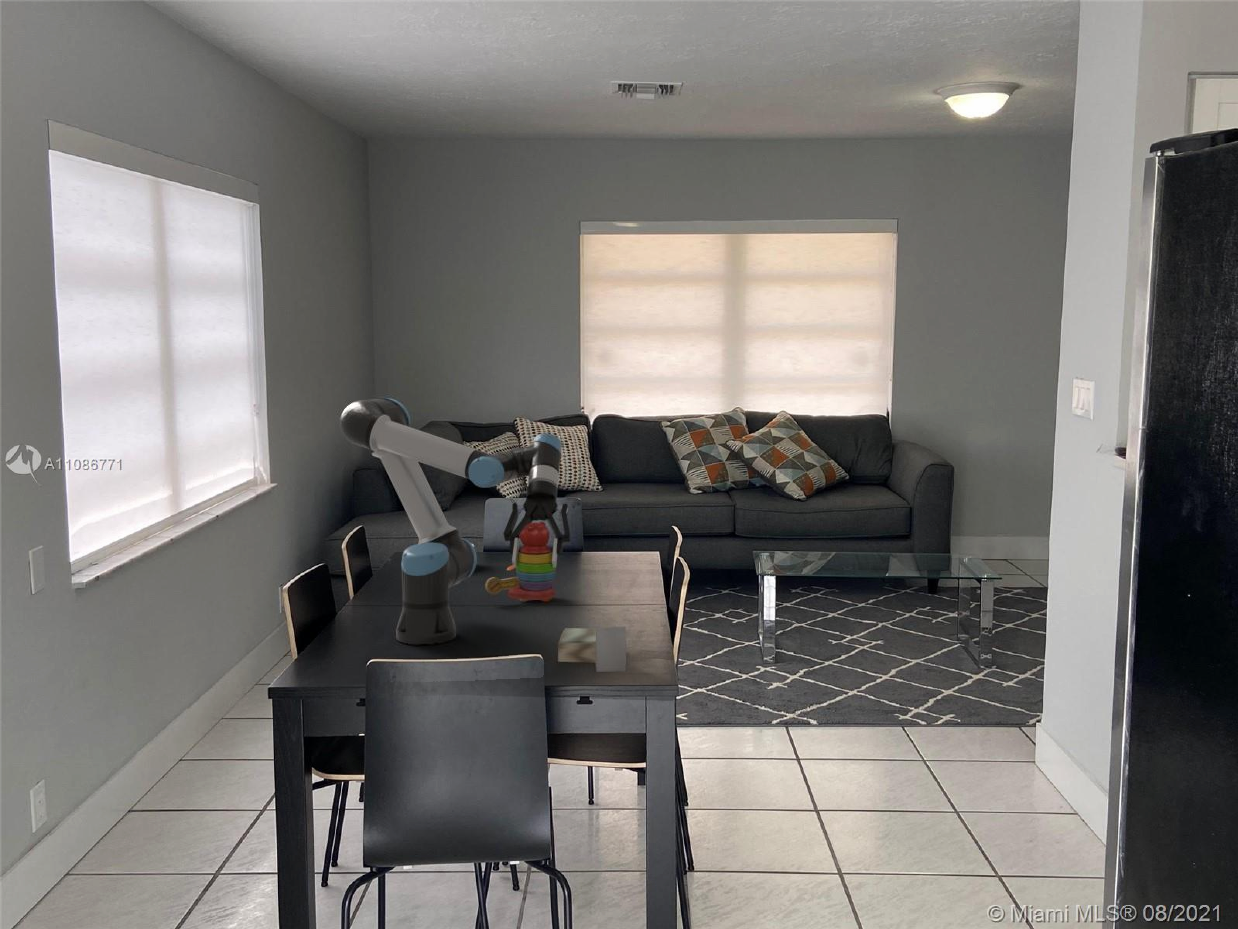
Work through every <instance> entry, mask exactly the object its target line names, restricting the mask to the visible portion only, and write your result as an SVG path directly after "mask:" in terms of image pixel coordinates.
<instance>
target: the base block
mask: <svg viewBox="0 0 1238 929" xmlns="http://www.w3.org/2000/svg"><path fill="white" fill-rule="evenodd" d="M557 662H558V663H595V664H596V628H579V627H578V628H571V627H565V628H564V629H563V631H562V633H561V634H560V638H559V640H558V643H557Z"/></svg>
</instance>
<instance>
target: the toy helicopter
mask: <svg viewBox="0 0 1238 929" xmlns="http://www.w3.org/2000/svg"><path fill="white" fill-rule="evenodd" d="M514 569H515V570H516V567H513V564H512V565H510V566H508V567H507V569H506V571H507V572H508V571H512V570H514ZM518 586H519V583H518V578H517V575H516V576H514V577H508V578H502V579H500V578H498V577H494V576H492V577H489V578H487V580H486V581H485V585H484V588H485V590H486V592H488V593H489V594H491V595H497V594H499V593H501V591H505V590H507V591H509V590H511V589H513V588H515V587H518ZM552 599H553V597H551V598H548V599H541V600H540V601H541V602H544V603H547V602H549V601H551V600H552ZM518 600H519V601H520V602H523V603H526V602H528V600H526V599H518Z"/></svg>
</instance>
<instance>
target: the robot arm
mask: <svg viewBox="0 0 1238 929" xmlns="http://www.w3.org/2000/svg"><path fill="white" fill-rule="evenodd" d="M410 416H411V415H410V413H409V411H408V410H407V408H406V407H405V405H404V404H403V403H401V402H400V401H399V400H396V399H394V398H388V397H376V398H373V399H372V398H371V399H361V400H356V401H354V402H351V403H349V405H347V406H346V407H345V408H344V410H343V411H342V413H341V416H340V418H339V427H340V430H341V433H342V435H343V436H344V438H345V439H346V440H347V441H349V442H350V443H351V444H353V445H355V446H359V447H362V448H365V449H368V450H369V451H370V454H371V455H372V456H373V457H375V458H379V460H380V461H381V463H382V465H383V467H384V469H385V471H386V473H387V475H388V476H389V479H390V481H391V483H392V485H393V488H394V489H395V492H396V494H397V496H398V498H399V501H400V502H401V504H402V506H403V508H404V510H405V512H406V514H407V516H408V519H409V520H410V522H411V525H412V528H413V529H414V531H415V533H416V535H417V537H418V543H417V544H414V545H413V544H412V545H410V546H409V547H407V548H406V549H404V551H403V553H402V556H401V557H402V558H401V563H400V565H401V568H400V569H401V581H402V582H401V585H402V586H401V587H402V588H401V589H402V590H401V591H402V593H401V594H402V610H401V612H400V615H399V620H398V622H397V626H396V629H395V638H396V640H397V641H398V642H400V643H403V644H407V643H408V644H407V645H415V646H418V645H419V646H421V645H422V644H429V645H436V644H435V643H438V644H442V643H443V644H444V643H446V641H447V642H450V641H452V640H454V639H455V638H456V637H457V626H456V624H455V620H454V617H453V614H452V611H451V609H450V596H449V595H450V594H449V593H450V588H452V587H454V586H456V585H459V584H462V583H463V582H465V581H467V579H468V578H470V577H471V575H473V573H474V571H475V570H476V567H477V562H478V556H477V555H478V554H477V551H476V550H475V546H474V547H473V545H474V544H473V543H471V542H470V541H468V539H465V538H464V537H462V536H461V534H460V533H459V530H458V529H457V527H454V526H452V525H450V524H449V522H448V521H447V519H446V517H445V515H444V512H443V511H442V508H441V506H440V504H439V502H438V500H437V498H436V496H435V494H434V492H433V489H432V488H431V486H430V484H429V482H428V480H427V477H426V475H425V474H424V471H423V469H422V467H421V465H420V464H419V463H422V464H425V465H427V466H430V467H433V468H436V469H439V470H441V471H444V472H447V473H450V474H454V475H457V476H460V477H462V478H465V479H468V480H470V481H471V482H472V483H473V484H474V485H475V486H476V487H478V488H483V489H484V488H493V487H495V486H497V485H500V484H502V483H506V482H511V481H513V480H517V479H521V478H525V477H526V478H527V477H528V480H527V489H526V496H525V497H526V498H525V501H524V502H523V504H518V503H517V502H514V503H512V506H511V507H512V508H511V509H512V510H511V514H510V516H509V518H508V521H507V523H506V526H505V529H504V531H503V537H504V541H505V542H509V546H508V548H509V553H510V554H512V558H511V562H512V565H513V567H517V561H518V556H519V551H520V541H519V540H520V537H519V534H520V532H521V531H522V530H523V529H524V527H525V526H526V525H528V524H530V523H533V522H534V521H536V522H537V521H541V522H544V521H545V522H547V524H548V525H549V527H550V528H551V531H552V533H553V534H554V538H553V547H552V553H553V555H552V565H553V567H555V568H557V563H558V562H557V561H558V555H562V554H563V546H564V545H563V544H565V543H570V542H571V541H572V540H571V539H572V538H571V531H570V527H569V520H568V514H569V506H568V504H567V503H563V504H562V505H561V504H558V503H557V499H558V488H559V477H560V466H561V460H562V442H561V439H560V438H559V437H557V436H556V435H554V434H552V433H547V432H545V433H539V434H538V435H536V436H535V437H534V438H533V441H532V444H531V445H528V446H523V447H520V448H514V449H509V450H504V451H499V452H495V453H492V454H491V453H488V452H484V451H481V450H478V449H475V448H472V447H470V446H466V445H464V444H461V443H457V442H455V441H452V440H448V439H446V438H443V437H439V436H437V435H434V434H431V433H428V432H425V431H422V430H420V429H416V428H413V427H410V425H411V417H410ZM522 511H525V513H524V516H523V517H522V518H521V520H520V522H518V525H517V526H516V524H517V521H518V519H519V516H520V515H521V513H522ZM557 511H558V514H559V515H560V516H561V520H562V525H563V531H564V534H563V533H561V530H560V528H559V527H558V524H557V522H556V520H555V519H554V514H555V513H556V512H557ZM472 544H473V545H472ZM449 640H450V641H449ZM420 644H421V645H420ZM422 646H423V645H422Z"/></svg>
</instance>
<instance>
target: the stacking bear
mask: <svg viewBox="0 0 1238 929" xmlns="http://www.w3.org/2000/svg"><path fill="white" fill-rule="evenodd" d="M549 530H550V529H549V528H548V527H547V526H546V523H545V522H544V521H539V522H532V523H530V524H528V525H526V526H525V527H524V529H523V530H522V531H521V532H520V534H519V537H520V538H519V540H520V542H521V543H522V545H523V546H521V548H519V551H520V552H518V559H517V567H516V568H515V570H516V576H517V578H518V583H519V586H518V587H515V588H513V589H509V590H508V591H507V592H508V593H507V596H508V597H509V598H511V599H517V600H519V599H526V600H527V601H531V600H532V601H533V600H534V601H536V600H537V601H538V600H539V601H541V599H548V598H551V597H552V598H553V597H555V594H556V592H555V589H554V586H553V584H554V581H555V577H556V568H557V567H556V568H555V567H553V565H552V555H553V550H552V549H551V548H550V547H549V546H548V543H549V540H550V531H549Z"/></svg>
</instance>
